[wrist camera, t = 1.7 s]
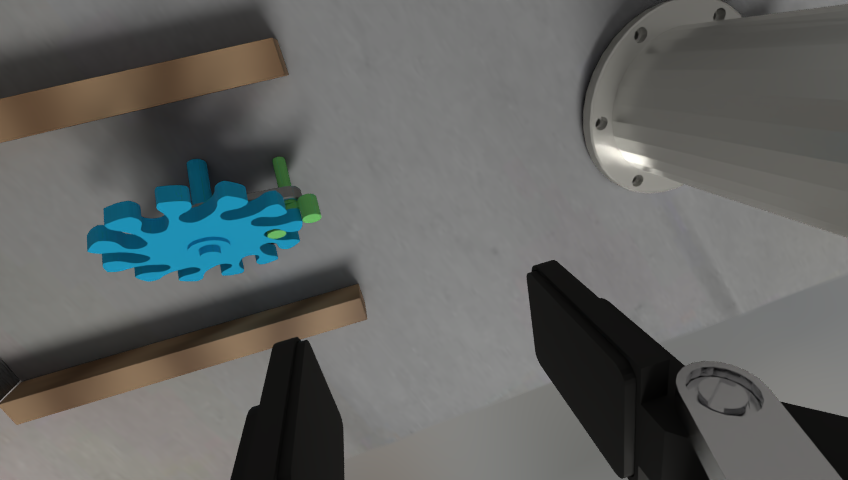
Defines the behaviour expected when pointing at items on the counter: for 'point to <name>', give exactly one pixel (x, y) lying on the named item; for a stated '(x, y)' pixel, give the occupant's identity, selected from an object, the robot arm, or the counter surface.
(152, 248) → the gear
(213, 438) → the counter surface
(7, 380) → the plate with round knob
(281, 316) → the channel rails
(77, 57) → the counter surface
